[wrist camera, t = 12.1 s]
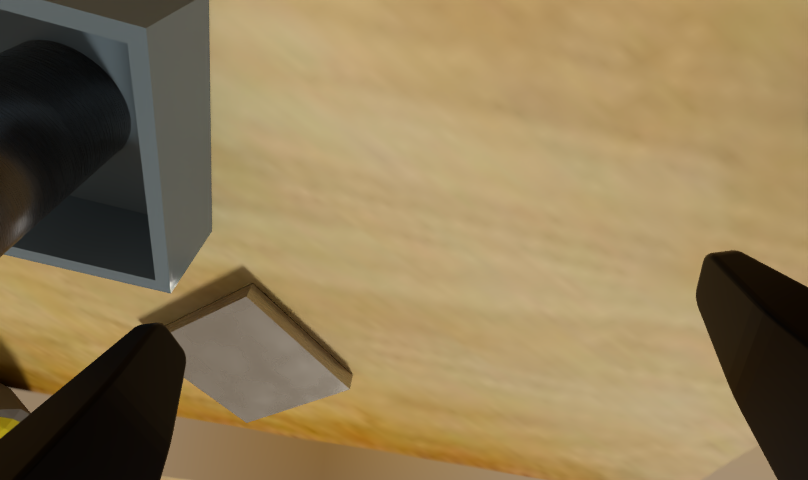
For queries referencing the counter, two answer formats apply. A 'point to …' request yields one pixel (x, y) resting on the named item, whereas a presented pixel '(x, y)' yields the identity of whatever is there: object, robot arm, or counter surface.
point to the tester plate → (255, 356)
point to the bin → (132, 139)
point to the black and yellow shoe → (10, 410)
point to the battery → (52, 130)
